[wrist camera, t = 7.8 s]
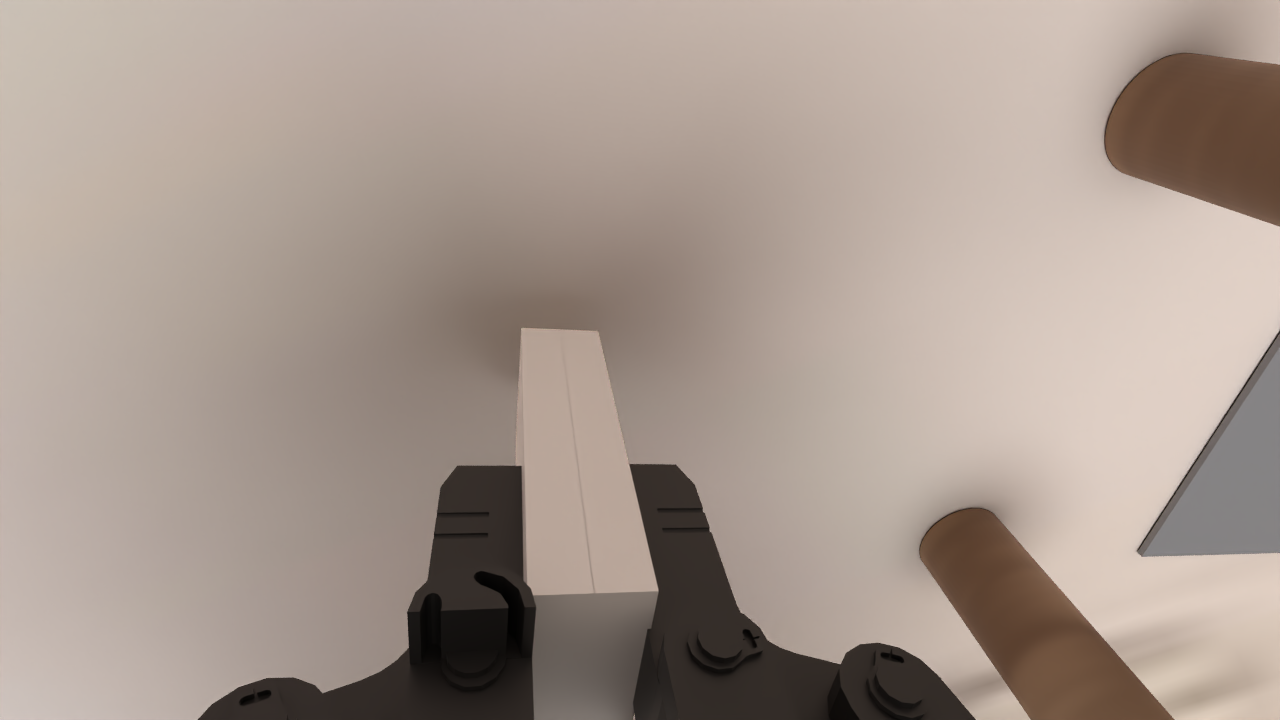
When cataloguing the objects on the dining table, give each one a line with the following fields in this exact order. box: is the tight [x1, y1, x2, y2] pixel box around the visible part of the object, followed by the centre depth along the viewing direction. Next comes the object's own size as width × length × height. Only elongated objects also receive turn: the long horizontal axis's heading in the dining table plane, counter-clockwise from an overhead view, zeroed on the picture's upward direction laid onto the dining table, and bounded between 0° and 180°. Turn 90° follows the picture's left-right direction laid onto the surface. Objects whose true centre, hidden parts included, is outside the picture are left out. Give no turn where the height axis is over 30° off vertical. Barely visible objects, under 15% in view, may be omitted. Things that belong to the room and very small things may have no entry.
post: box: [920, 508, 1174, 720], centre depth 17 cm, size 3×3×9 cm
